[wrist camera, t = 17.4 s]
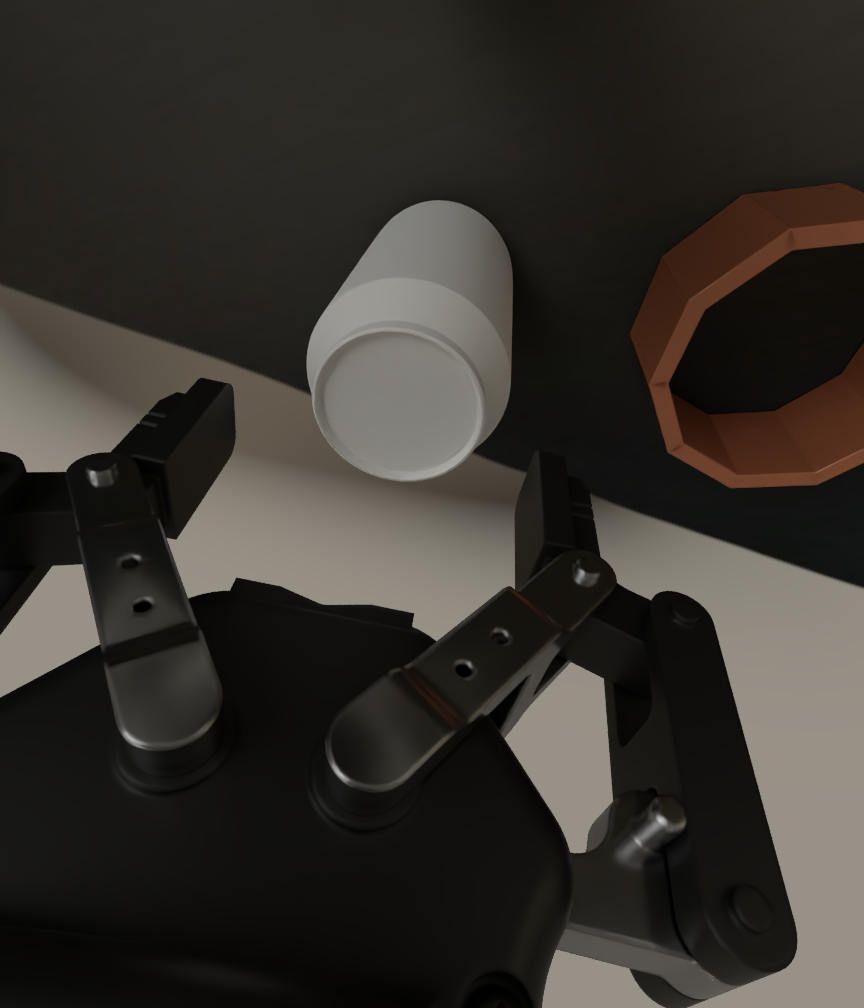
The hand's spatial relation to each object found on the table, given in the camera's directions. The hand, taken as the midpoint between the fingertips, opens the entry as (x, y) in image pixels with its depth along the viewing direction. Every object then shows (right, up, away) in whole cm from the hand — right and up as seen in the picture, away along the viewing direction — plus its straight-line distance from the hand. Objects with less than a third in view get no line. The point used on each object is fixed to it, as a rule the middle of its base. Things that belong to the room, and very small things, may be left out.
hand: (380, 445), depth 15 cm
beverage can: (+2, +9, +10) cm, 14 cm away
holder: (+16, +6, +10) cm, 20 cm away
